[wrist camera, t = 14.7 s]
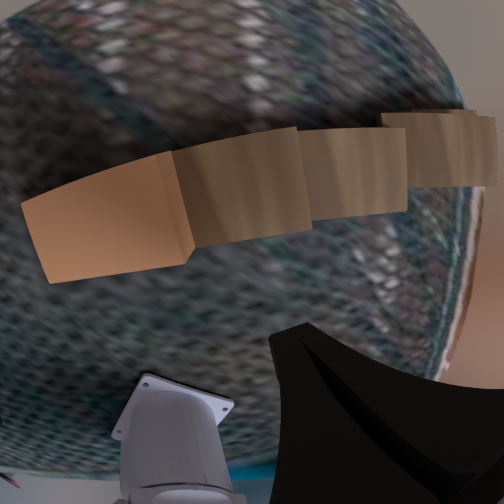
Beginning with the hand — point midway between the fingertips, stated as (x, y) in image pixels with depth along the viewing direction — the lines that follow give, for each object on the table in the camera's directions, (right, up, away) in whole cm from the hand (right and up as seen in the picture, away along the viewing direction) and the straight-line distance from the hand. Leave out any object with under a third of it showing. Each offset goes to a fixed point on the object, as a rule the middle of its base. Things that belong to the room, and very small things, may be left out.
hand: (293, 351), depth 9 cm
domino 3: (-1, +7, +7) cm, 10 cm away
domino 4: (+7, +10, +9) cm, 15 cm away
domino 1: (-14, +4, +5) cm, 15 cm away
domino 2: (-8, +6, +6) cm, 11 cm away
